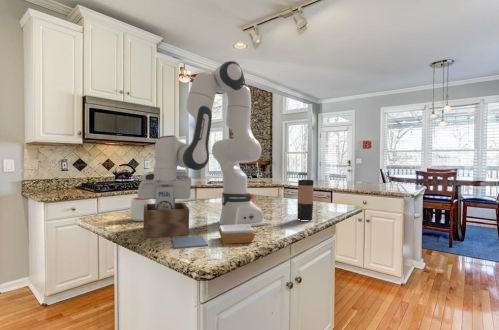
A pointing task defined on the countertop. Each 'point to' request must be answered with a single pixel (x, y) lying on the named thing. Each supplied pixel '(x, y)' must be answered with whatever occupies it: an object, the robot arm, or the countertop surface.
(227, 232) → the soap dish
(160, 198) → the milk carton
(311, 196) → the travel mug
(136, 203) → the cup
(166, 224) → the crate
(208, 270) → the countertop surface
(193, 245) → the mat
